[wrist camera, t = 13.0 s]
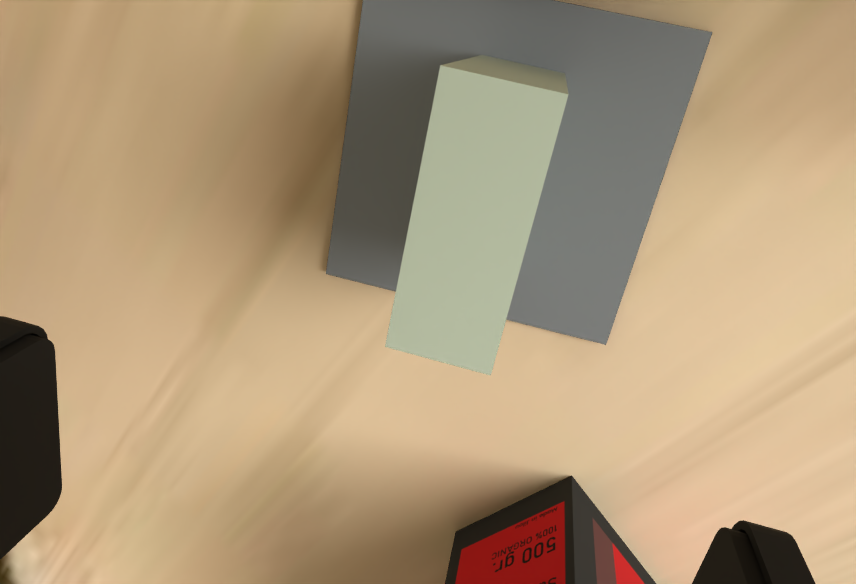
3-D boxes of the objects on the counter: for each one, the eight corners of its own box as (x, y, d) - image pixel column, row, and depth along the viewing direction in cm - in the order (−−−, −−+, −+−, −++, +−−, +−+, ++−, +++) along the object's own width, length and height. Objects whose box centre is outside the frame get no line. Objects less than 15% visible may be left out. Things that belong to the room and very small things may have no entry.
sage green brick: (564, 73, 30) (568, 94, 19) (512, 267, 34) (490, 375, 23) (482, 54, 31) (440, 65, 20) (439, 248, 35) (385, 346, 24)
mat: (710, 32, 29) (712, 32, 29) (605, 340, 35) (605, 344, 35) (371, -36, 31) (368, -38, 30) (328, 270, 37) (325, 273, 36)
